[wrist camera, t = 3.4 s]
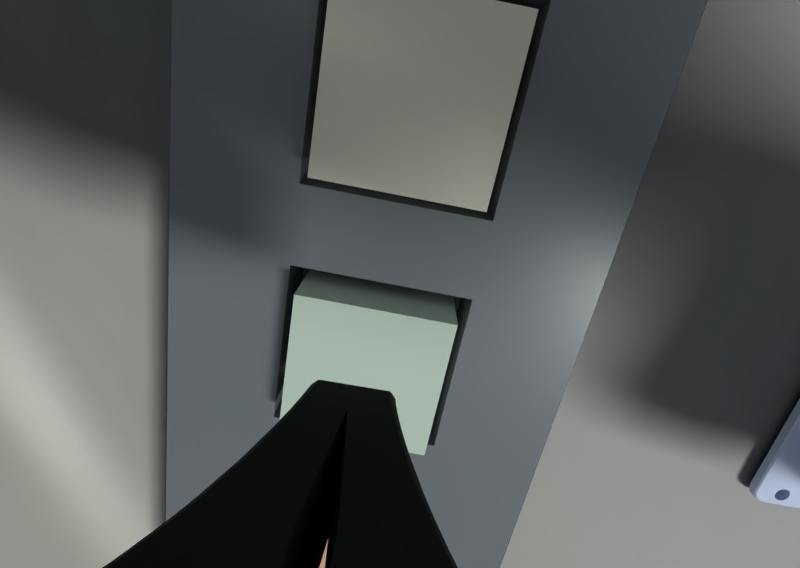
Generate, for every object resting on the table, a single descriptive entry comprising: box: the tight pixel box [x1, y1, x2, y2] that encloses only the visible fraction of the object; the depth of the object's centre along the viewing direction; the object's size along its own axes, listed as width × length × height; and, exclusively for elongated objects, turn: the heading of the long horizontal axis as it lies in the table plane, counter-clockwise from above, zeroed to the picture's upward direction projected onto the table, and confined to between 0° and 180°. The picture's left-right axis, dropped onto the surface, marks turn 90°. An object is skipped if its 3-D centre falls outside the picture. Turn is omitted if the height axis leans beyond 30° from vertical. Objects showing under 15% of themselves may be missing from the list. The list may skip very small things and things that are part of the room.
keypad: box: [166, 0, 708, 568], centre depth 16 cm, size 12×25×2 cm, turn 170°
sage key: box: [280, 269, 458, 455], centre depth 15 cm, size 4×4×2 cm
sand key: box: [308, 0, 539, 212], centre depth 12 cm, size 4×4×2 cm
